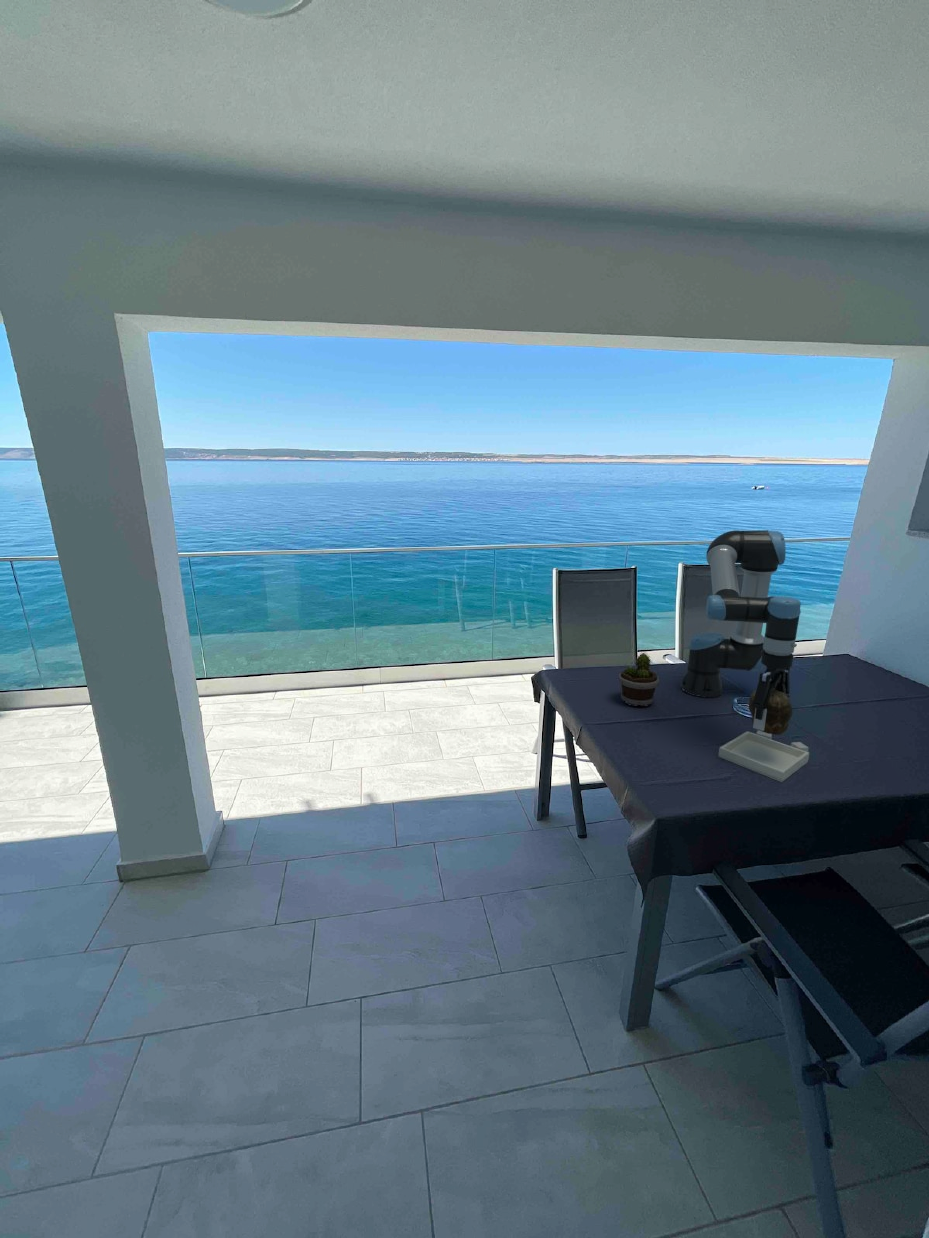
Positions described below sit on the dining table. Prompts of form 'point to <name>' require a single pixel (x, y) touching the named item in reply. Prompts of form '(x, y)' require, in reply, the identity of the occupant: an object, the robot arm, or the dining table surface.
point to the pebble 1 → (764, 734)
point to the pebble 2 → (799, 746)
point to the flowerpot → (638, 682)
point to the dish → (764, 756)
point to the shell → (775, 712)
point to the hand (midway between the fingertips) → (767, 723)
